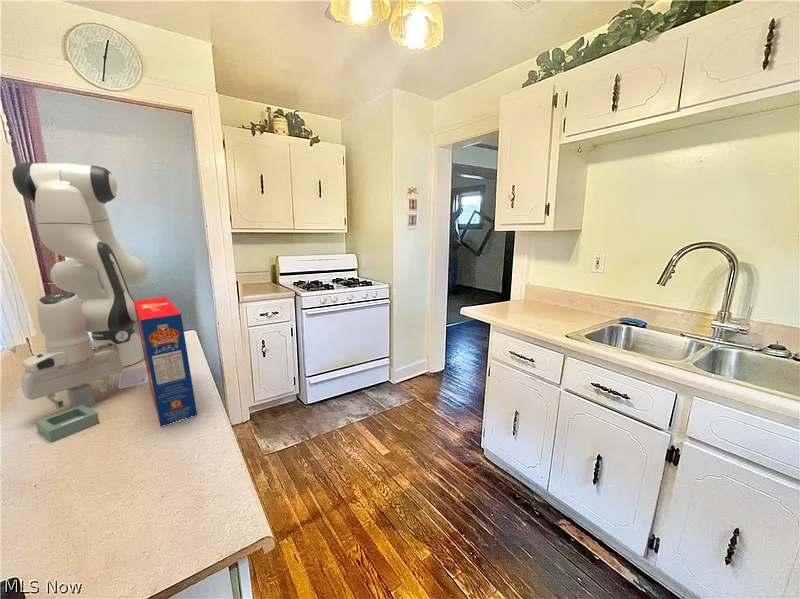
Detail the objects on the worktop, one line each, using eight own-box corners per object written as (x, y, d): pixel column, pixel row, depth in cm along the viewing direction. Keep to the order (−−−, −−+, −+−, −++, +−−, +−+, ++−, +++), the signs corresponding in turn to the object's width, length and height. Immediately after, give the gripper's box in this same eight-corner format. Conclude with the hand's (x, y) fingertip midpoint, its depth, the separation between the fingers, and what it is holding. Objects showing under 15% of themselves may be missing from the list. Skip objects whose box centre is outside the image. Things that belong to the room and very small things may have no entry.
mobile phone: (147, 365, 120) (148, 380, 109) (147, 368, 120) (148, 383, 109) (119, 371, 116) (117, 387, 104) (120, 374, 116) (118, 390, 104)
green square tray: (37, 431, 83) (35, 420, 82) (84, 413, 90) (82, 404, 90) (51, 442, 78) (48, 431, 78) (99, 422, 86) (97, 412, 85)
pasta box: (150, 388, 105) (133, 301, 99) (180, 380, 110) (166, 297, 104) (160, 427, 84) (140, 320, 78) (197, 415, 89) (180, 313, 83)
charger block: (71, 408, 94) (66, 387, 92) (89, 401, 97) (85, 381, 96) (77, 411, 92) (72, 390, 90) (95, 404, 95) (91, 384, 94)
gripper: (112, 339, 101) (121, 381, 104) (12, 363, 84) (26, 413, 87) (122, 342, 98) (131, 386, 101) (21, 368, 81) (35, 420, 84)
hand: (82, 399), depth 94 cm, fingers open, 8 cm apart
